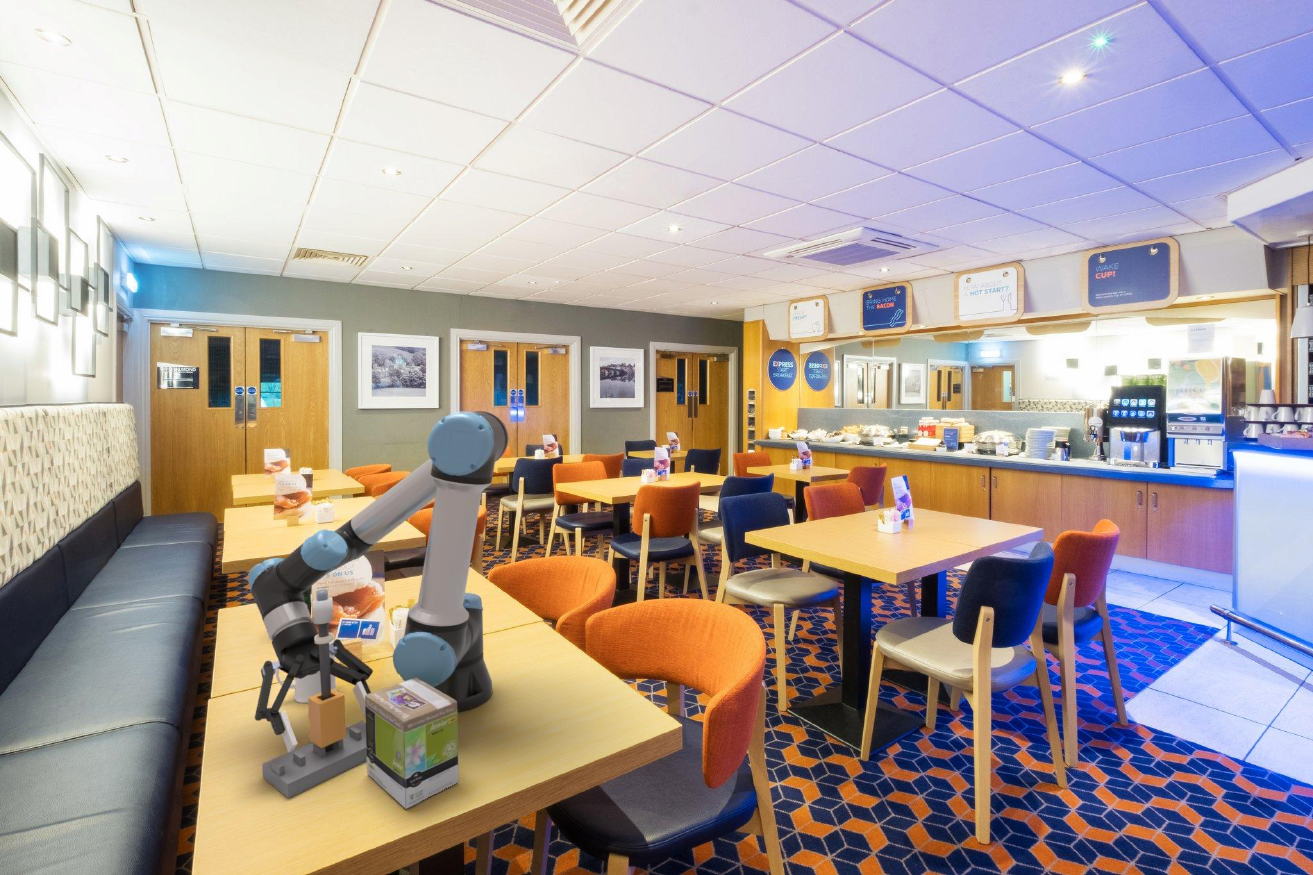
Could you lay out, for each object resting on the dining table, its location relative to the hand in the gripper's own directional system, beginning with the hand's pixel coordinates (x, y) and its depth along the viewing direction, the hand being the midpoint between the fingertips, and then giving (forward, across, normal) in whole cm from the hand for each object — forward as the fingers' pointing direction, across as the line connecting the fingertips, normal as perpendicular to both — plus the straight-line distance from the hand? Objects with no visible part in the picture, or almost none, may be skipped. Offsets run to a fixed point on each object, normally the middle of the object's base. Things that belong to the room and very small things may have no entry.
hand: (333, 731), depth 110 cm
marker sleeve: (0, 0, -3) cm, 3 cm away
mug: (-18, -10, -28) cm, 35 cm away
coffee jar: (-47, -25, -57) cm, 78 cm away
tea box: (+15, -6, +5) cm, 17 cm away
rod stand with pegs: (+3, 0, -6) cm, 7 cm away
